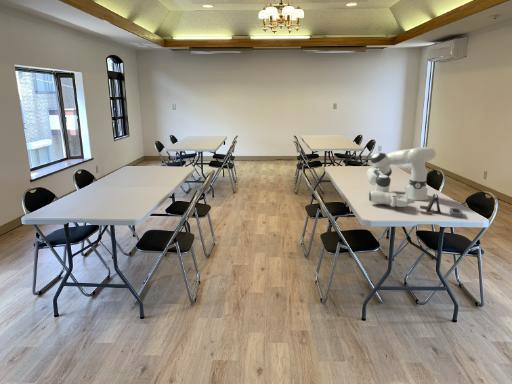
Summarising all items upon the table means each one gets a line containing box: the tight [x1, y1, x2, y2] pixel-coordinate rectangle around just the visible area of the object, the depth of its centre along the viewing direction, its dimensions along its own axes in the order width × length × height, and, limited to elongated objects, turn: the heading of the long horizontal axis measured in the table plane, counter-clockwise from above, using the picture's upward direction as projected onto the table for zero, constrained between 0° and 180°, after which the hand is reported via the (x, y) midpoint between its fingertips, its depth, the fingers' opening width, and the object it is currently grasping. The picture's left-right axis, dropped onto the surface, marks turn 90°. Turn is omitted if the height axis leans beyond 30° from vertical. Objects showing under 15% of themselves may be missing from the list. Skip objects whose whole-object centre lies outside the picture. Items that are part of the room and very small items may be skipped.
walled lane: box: [419, 205, 434, 216], centre depth 259 cm, size 16×7×2 cm, turn 160°
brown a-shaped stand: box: [425, 193, 442, 215], centre depth 257 cm, size 9×6×12 cm, turn 70°
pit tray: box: [448, 207, 464, 219], centre depth 253 cm, size 12×6×3 cm, turn 160°
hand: (414, 201), depth 260 cm, fingers closed
